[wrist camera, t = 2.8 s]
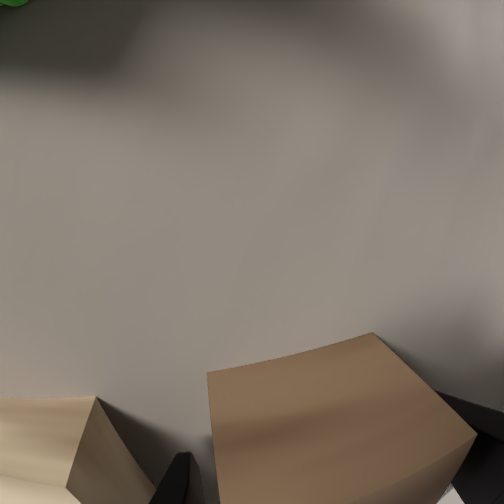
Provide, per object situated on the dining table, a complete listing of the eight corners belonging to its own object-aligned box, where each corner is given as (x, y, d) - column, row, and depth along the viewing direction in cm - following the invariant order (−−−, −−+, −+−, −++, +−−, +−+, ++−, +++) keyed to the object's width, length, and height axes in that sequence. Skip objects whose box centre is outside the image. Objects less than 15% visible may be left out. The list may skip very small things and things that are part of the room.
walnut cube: (361, 434, 10) (420, 524, 5) (237, 468, 9) (261, 579, 5) (370, 331, 9) (477, 434, 4) (206, 370, 8) (225, 532, 3)
